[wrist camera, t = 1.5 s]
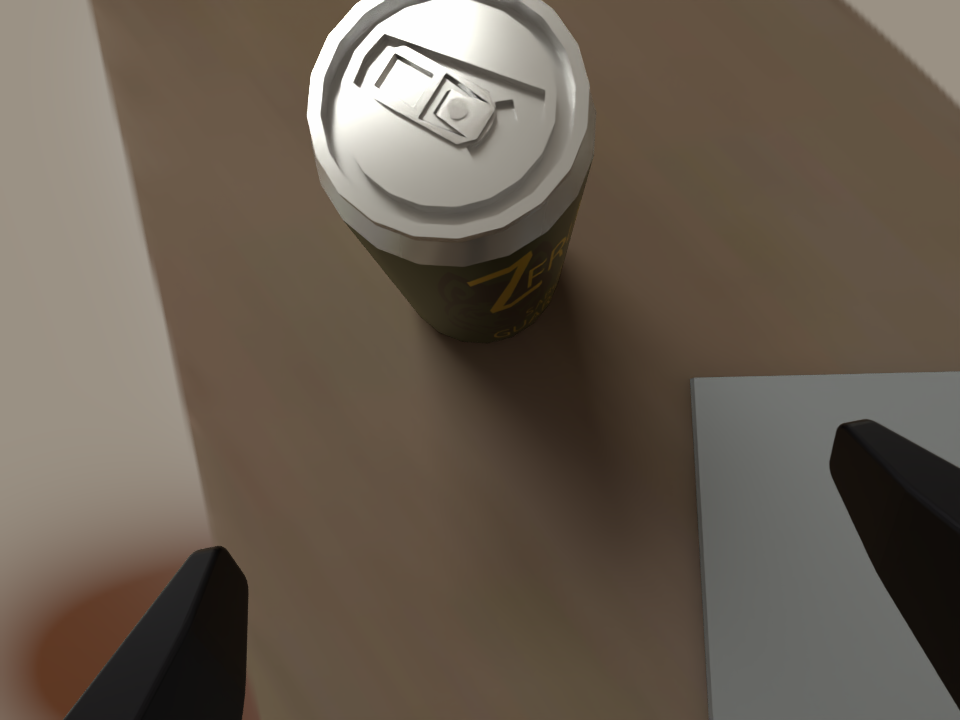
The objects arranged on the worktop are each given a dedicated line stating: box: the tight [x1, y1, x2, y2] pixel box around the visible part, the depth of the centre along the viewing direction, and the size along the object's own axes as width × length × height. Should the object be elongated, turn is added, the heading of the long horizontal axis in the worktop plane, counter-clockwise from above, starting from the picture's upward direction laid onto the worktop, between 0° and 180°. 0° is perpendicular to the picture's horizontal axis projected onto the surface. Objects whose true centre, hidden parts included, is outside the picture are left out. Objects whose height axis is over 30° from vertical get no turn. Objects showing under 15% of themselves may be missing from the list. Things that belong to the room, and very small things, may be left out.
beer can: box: [307, 0, 596, 343], centre depth 17 cm, size 5×5×12 cm
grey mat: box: [690, 372, 960, 720], centre depth 21 cm, size 16×12×1 cm
